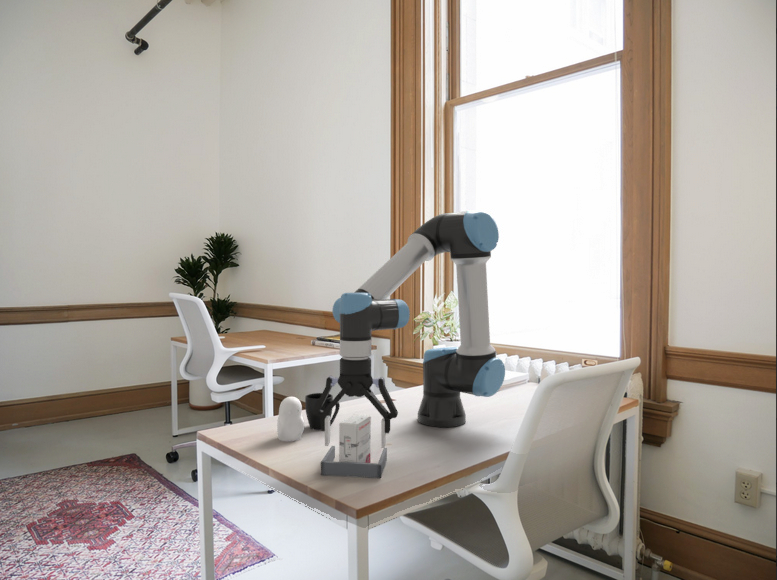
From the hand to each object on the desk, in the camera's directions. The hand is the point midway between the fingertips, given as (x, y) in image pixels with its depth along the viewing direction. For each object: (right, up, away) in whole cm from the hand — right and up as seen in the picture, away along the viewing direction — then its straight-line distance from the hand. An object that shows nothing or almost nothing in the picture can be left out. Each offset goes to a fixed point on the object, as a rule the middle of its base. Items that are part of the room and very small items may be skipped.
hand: (355, 445), depth 132 cm
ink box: (0, -6, 0) cm, 6 cm away
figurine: (-20, -5, +22) cm, 30 cm away
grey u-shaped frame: (0, -5, 0) cm, 5 cm away
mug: (-12, -4, +33) cm, 35 cm away
